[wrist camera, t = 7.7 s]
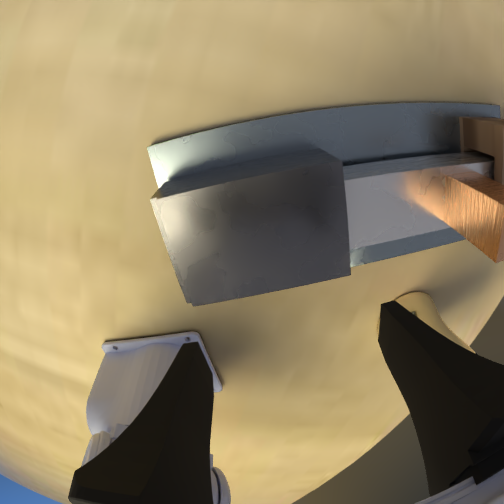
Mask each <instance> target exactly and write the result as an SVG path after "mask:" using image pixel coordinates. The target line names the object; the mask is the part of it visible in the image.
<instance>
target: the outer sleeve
mask: <svg viewBox="0 0 504 504" xmlns="http://www.w3.org/2000/svg"><path fill="white" fill-rule="evenodd" d="M459 117H493V118H500V106H498V105H492V104H478V103H456V102H405V103H382V104H367V105H355V106H344V107H335V108H326V109H318V110H310V111H303V112H296V113H290V114H283V115H277V116H272V117H266V118H261V119H255V120H250V121H245V122H240V123H236V124H231V125H226V126H222V127H218V128H213V129H209V130H205V131H201V132H197V133H193V134H189V135H186V136H182V137H178V138H175V139H171V140H168V141H164V142H161V143H157V144H154V145H151V146H149V147H147V149H148V153H149V157H150V160H151V164H152V167H153V171H154V174H155V177H156V181H157V184H158V187H159V189H158V190H157V192H156V193H155V194H154V195H153V196H152V198H151V199H150V201H151V204H152V207H153V210H154V213H155V216H156V219H157V222H158V225H159V228H160V231H161V234H162V237H163V240H164V243H165V246H166V248H167V251H168V254H169V257H170V259H171V262H172V265H173V268H174V270H175V273H176V276H177V278H178V281H179V284H180V286H181V289H182V291H183V294H184V297H185V299H186V302H187V303H192V305H193V306H199V305H205V304H210V303H216V302H221V301H227V300H232V299H238V298H243V297H248V296H254V295H259V294H264V293H269V292H274V291H279V290H284V289H289V288H294V287H298V286H303V285H308V284H313V283H317V282H322V281H326V280H331V279H336V278H340V277H344V276H349V275H351V267H354V266H358V265H362V264H367V263H371V262H375V261H380V260H384V259H388V258H393V257H397V256H401V255H405V254H409V253H413V252H417V251H421V250H425V249H429V248H433V247H437V246H441V245H445V244H449V243H453V242H457V241H461V240H464V239H466V238H465V237H463V236H462V235H461V234H459V233H458V232H457V231H455V230H454V229H453V228H452V227H450V228H446V229H441V230H437V231H433V232H428V233H424V234H419V235H415V236H411V237H406V238H402V239H397V240H393V241H388V242H383V243H379V244H374V245H370V246H365V247H360V248H356V249H351V250H350V246H349V230H348V216H347V204H346V193H345V183H344V174H343V166H350V165H357V164H364V163H371V162H378V161H386V160H394V159H402V158H410V157H419V156H429V155H439V154H450V153H461V144H460V124H459Z"/></svg>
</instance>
